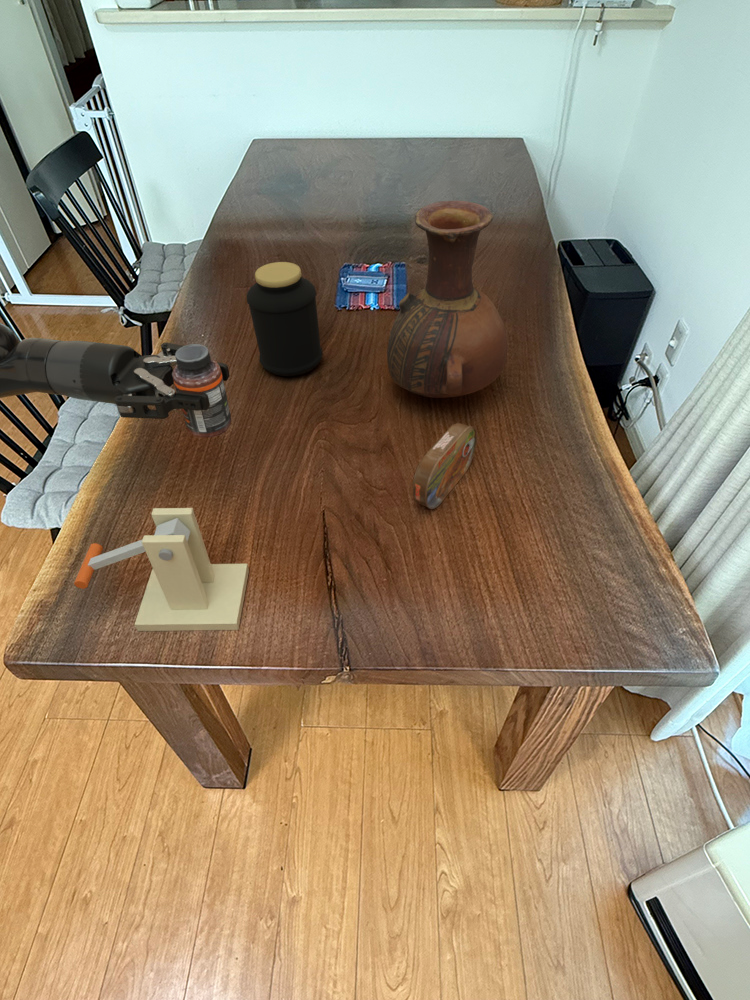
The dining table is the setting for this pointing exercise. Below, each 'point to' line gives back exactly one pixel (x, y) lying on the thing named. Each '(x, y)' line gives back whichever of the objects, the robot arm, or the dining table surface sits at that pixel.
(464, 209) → the vase
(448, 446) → the tin
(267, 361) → the container
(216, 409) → the supplement bottle
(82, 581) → the lever handle
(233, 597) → the cream lever stand
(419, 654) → the dining table surface
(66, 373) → the robot arm
